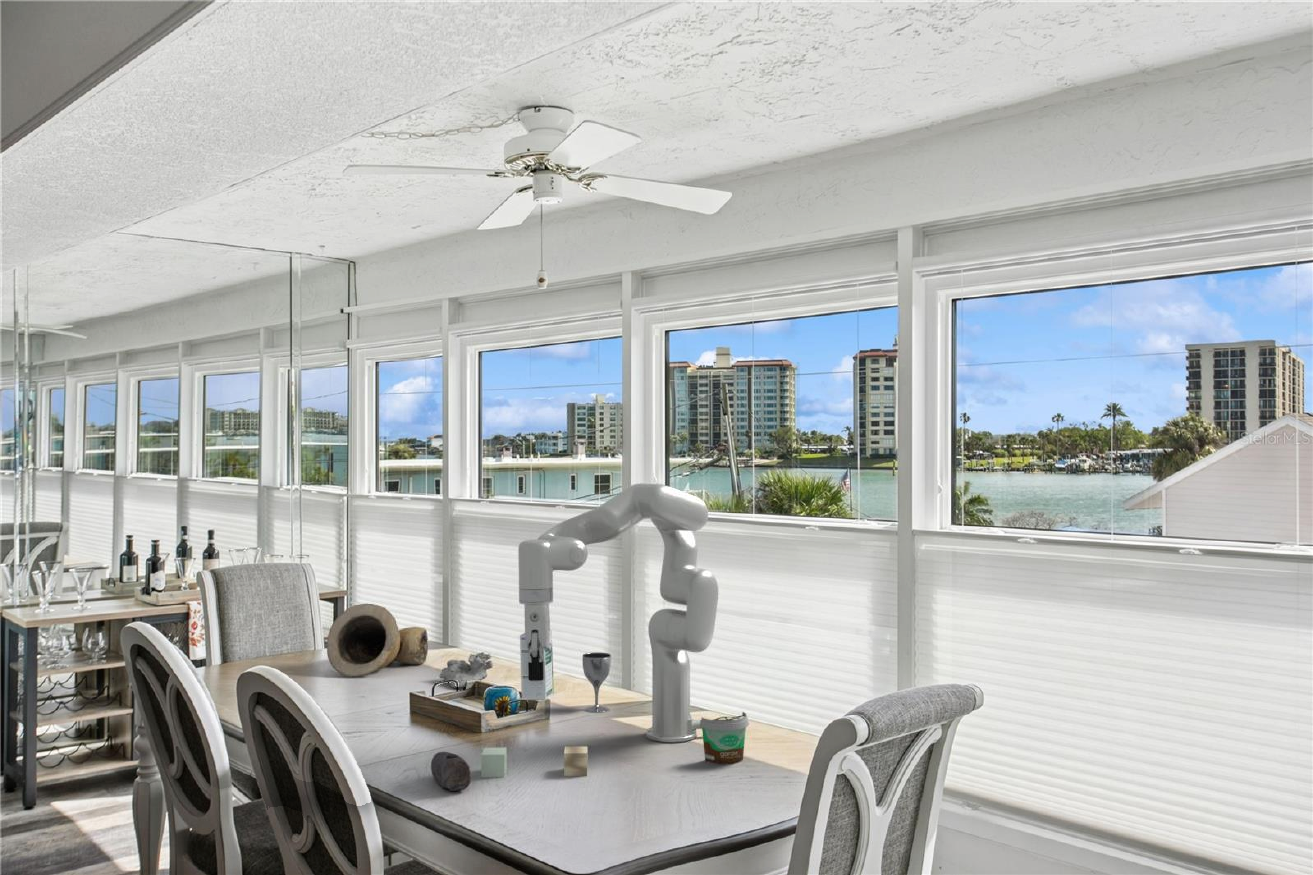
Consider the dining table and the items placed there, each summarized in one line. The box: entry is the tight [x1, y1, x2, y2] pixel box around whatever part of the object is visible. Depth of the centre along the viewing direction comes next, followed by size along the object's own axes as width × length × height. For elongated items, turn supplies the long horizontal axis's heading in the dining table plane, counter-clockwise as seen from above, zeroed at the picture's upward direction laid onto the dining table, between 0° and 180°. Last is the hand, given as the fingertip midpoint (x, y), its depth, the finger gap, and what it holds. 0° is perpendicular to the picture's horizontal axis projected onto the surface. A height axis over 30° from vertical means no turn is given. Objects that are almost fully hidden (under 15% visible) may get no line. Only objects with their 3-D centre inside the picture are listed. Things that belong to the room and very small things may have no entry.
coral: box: [439, 651, 494, 689], centre depth 299 cm, size 17×14×10 cm
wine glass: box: [582, 651, 612, 714], centre depth 268 cm, size 8×8×15 cm
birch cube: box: [563, 746, 588, 777], centre depth 214 cm, size 5×5×5 cm
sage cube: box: [480, 747, 508, 778], centre depth 213 cm, size 5×5×5 cm
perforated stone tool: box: [430, 751, 472, 792], centre depth 205 cm, size 15×5×7 cm, turn 33°
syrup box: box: [519, 629, 555, 701], centre depth 214 cm, size 6×6×14 cm
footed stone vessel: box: [326, 603, 429, 677], centre depth 323 cm, size 23×29×30 cm
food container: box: [699, 711, 750, 765], centre depth 222 cm, size 12×6×10 cm, turn 117°
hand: (537, 675), depth 214 cm, fingers closed on syrup box, 6 cm apart
